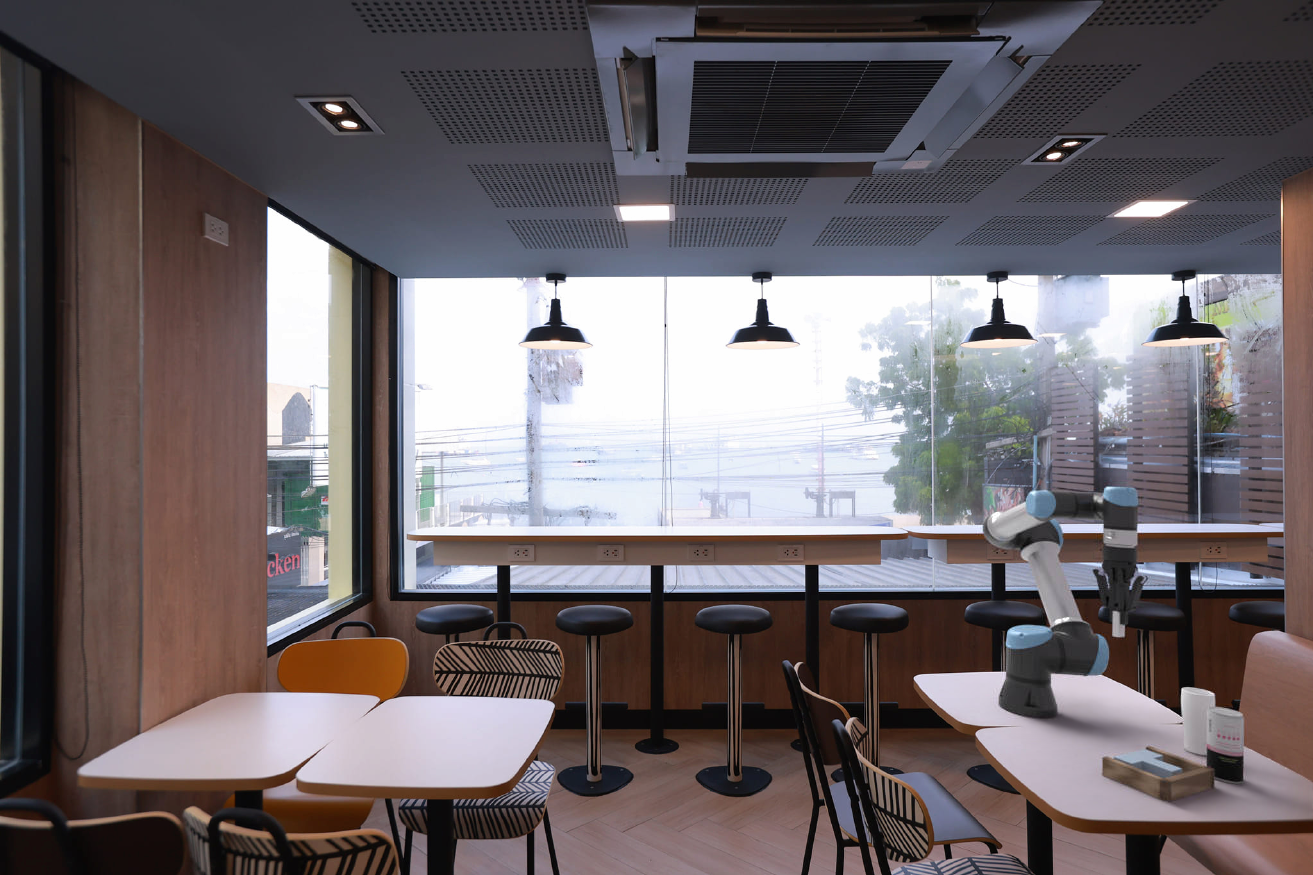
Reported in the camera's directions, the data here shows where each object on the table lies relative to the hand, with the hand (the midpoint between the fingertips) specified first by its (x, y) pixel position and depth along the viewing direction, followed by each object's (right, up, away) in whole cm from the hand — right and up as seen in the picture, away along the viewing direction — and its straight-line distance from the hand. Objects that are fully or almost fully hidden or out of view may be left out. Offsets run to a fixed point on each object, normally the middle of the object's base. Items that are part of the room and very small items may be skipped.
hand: (1118, 636), depth 183 cm
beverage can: (+9, -26, -23) cm, 36 cm away
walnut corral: (-8, -25, -26) cm, 37 cm away
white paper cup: (+15, -27, -8) cm, 32 cm away
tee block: (-9, -25, -25) cm, 37 cm away
